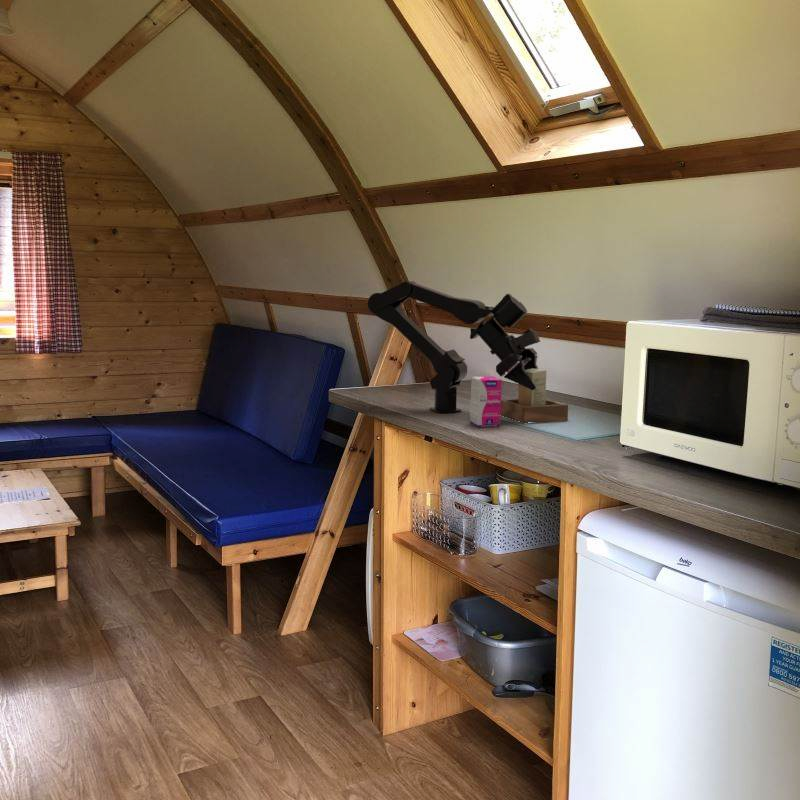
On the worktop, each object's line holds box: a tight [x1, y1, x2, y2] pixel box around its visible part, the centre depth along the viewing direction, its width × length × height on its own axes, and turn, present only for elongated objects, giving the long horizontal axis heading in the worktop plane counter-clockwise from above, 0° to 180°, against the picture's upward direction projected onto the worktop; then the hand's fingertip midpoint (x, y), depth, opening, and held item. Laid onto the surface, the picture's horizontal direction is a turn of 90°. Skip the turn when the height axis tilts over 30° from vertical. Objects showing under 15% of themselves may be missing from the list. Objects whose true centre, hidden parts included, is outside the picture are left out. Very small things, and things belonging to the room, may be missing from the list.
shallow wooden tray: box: [500, 398, 569, 424], centre depth 222 cm, size 12×12×4 cm
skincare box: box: [517, 368, 547, 406], centre depth 221 cm, size 6×4×12 cm
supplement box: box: [469, 375, 503, 428], centre depth 211 cm, size 6×6×12 cm
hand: (539, 386), depth 221 cm, fingers open, 9 cm apart
